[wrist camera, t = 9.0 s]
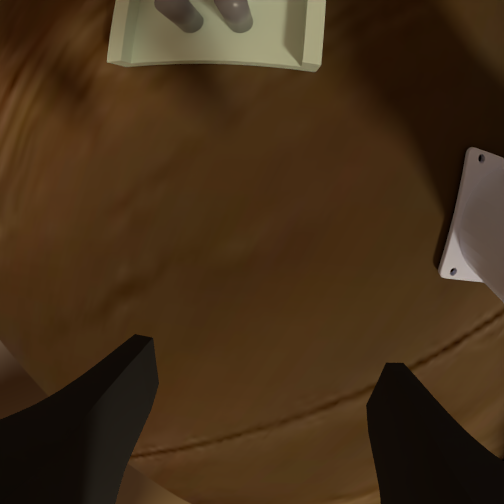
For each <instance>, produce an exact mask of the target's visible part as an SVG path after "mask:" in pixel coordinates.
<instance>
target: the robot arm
mask: <svg viewBox="0 0 504 504" xmlns="http://www.w3.org/2000/svg"><path fill="white" fill-rule="evenodd" d="M480 154H481V161H480V162H479V160H478V157H479V155H480ZM453 268H454V270H453V272H451V273H450V271H451V269H453ZM438 273H439V274H440V275H441V277H443V278H448V279H457V280H466V281H475V282H484V283H485V284H486V285H487V286H488V287H489V288H490V289H491V290H492V291H493V292H494V293H495V294H496V295H497V296H498V297H499V298H500V299H501V300H502V301H503V303H504V158H503V157H500V156H497V155H495V154H492V153H489V152H486V151H484V150H481V149H478V148H474V147H470V148H468V150H467V151H466V155H465V161H464V167H463V172H462V178H461V183H460V188H459V192H458V197H457V202H456V206H455V210H454V214H453V218H452V222H451V226H450V230H449V234H448V237H447V241H446V245H445V248H444V251H443V255H442V258H441V261H440V265H439V268H438ZM158 384H159V380H158V373H157V366H156V358H155V350H154V342H153V338H151V337H146V336H141V335H136V334H135V335H133V336H132V337H131V338H129V339H128V340H127V341H126V342H124V343H123V344H122V345H121V346H119V347H118V348H117V349H115V350H114V351H113V352H112V353H110V354H109V355H108V356H107V357H105V358H104V359H103V360H102V361H100V362H99V363H98V364H96V365H95V366H94V367H92V368H91V369H90V370H88V371H87V372H86V373H84V374H83V375H82V376H80V377H79V378H77V379H76V380H74V381H73V382H71V383H70V384H69V385H67V386H66V387H64V388H63V389H61V390H60V391H58V392H56V393H55V394H53V395H51V396H50V397H48V398H46V399H44V400H42V401H40V402H39V403H37V404H35V405H33V406H31V407H29V408H26V409H24V410H22V411H20V412H17V413H15V414H13V415H10V416H8V417H6V418H3V419H0V504H115V502H116V498H117V494H118V491H119V487H120V484H121V480H122V477H123V473H124V471H125V468H126V465H127V463H128V461H129V458H130V456H131V454H132V451H133V449H134V447H135V445H136V442H137V440H138V438H139V436H140V433H141V431H142V429H143V427H144V424H145V422H146V420H147V418H148V415H149V413H150V411H151V408H152V405H153V402H154V398H155V395H156V391H157V388H158ZM366 407H367V421H368V432H369V438H370V443H371V448H372V453H373V458H374V463H375V468H376V473H377V478H378V483H379V490H380V498H381V504H504V461H502V460H501V459H499V458H498V457H496V456H495V455H494V454H492V453H491V452H490V451H488V450H487V449H486V448H485V447H484V446H482V445H481V444H480V443H479V442H478V441H477V440H475V439H474V438H473V437H472V436H471V435H470V434H469V433H468V432H466V431H465V430H464V429H463V428H462V427H461V426H460V425H459V424H458V423H457V422H456V421H455V420H454V419H453V418H452V416H451V415H450V414H449V413H448V412H447V411H446V410H445V409H444V408H443V407H442V406H441V405H440V404H439V402H438V401H437V400H436V399H435V398H434V397H433V396H432V395H431V393H430V392H429V391H428V390H427V389H426V388H425V387H424V385H423V384H422V383H421V382H420V381H419V380H418V379H417V377H416V376H415V375H414V374H413V373H412V372H411V371H410V370H409V369H408V368H407V367H406V365H405V364H404V363H386V364H385V366H384V369H383V371H382V373H381V375H380V378H379V380H378V382H377V384H376V386H375V388H374V390H373V392H372V395H371V397H370V399H369V401H368V403H367V405H366Z"/></svg>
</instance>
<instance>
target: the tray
mask: <svg viewBox="0 0 504 504" xmlns="http://www.w3.org/2000/svg"><path fill="white" fill-rule="evenodd" d="M325 6H326V0H116V2H115V8H114V13H113V19H112V26H111V32H110V40H109V47H108V56H107V62H108V63H112V64H116V65H120V66H124V67H133V66H146V65H164V64H235V65H253V66H266V67H277V68H286V69H295V70H303V71H310V72H316V71H317V70H318V68H319V67H320V66H321V59H322V48H323V35H324V21H325Z"/></svg>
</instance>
